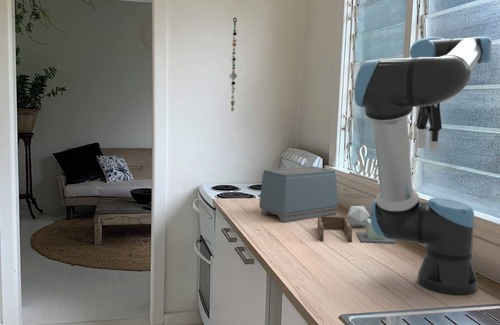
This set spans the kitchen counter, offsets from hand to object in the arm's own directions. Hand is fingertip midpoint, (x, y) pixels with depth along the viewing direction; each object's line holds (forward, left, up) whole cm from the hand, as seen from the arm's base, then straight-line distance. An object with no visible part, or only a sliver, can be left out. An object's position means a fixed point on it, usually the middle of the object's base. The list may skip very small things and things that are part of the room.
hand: (426, 149), depth 157 cm
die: (+30, +18, -35) cm, 49 cm away
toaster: (+49, +40, -35) cm, 72 cm away
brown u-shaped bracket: (+15, +29, -35) cm, 47 cm away
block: (+12, +14, -34) cm, 39 cm away
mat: (+12, +14, -35) cm, 39 cm away
